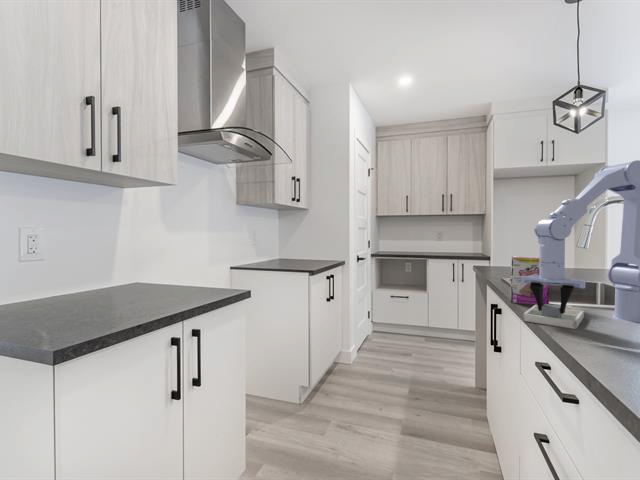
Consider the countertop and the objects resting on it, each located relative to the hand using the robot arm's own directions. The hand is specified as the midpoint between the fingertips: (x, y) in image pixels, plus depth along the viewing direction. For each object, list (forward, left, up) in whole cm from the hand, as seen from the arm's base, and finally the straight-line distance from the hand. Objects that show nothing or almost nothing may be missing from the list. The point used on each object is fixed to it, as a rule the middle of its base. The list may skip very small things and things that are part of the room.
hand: (551, 311), depth 94 cm
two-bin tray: (-4, 0, -3) cm, 5 cm away
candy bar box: (-22, -10, -4) cm, 25 cm away
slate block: (0, 0, -3) cm, 3 cm away
